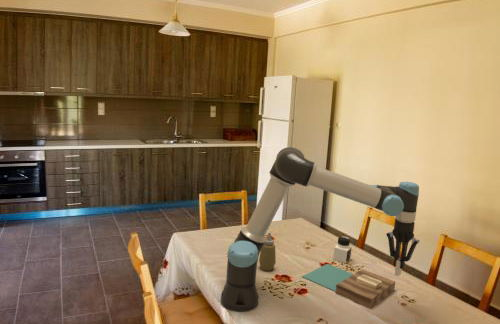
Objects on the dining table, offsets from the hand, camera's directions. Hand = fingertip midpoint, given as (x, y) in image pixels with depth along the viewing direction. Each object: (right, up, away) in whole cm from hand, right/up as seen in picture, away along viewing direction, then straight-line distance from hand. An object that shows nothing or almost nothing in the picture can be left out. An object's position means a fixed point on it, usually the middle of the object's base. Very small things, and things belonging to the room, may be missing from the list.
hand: (397, 274), depth 160 cm
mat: (-23, -8, +22) cm, 33 cm away
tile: (-9, -7, +9) cm, 15 cm away
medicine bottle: (-13, -5, +44) cm, 46 cm away
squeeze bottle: (-53, -5, +27) cm, 60 cm away
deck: (-10, -10, +10) cm, 18 cm away
